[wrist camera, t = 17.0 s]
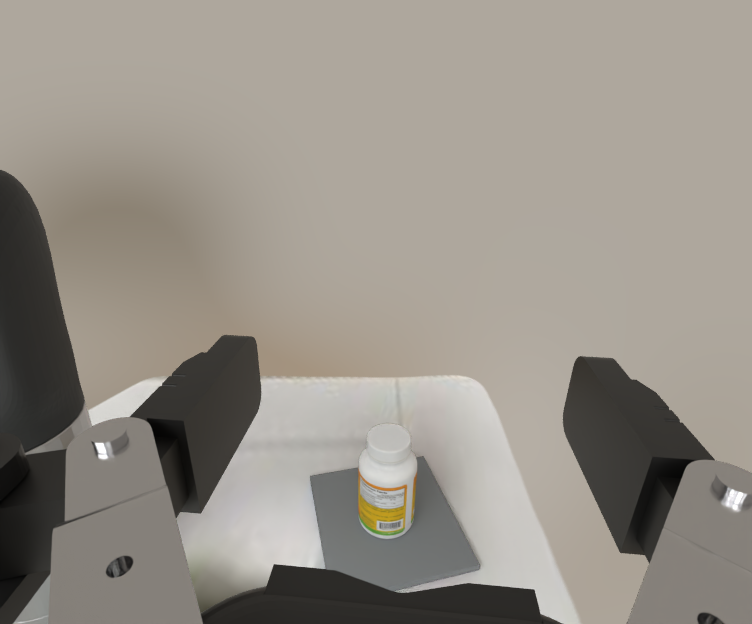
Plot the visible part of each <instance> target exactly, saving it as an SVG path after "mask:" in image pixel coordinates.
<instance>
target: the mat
mask: <svg viewBox="0 0 752 624" xmlns="http://www.w3.org/2000/svg"><path fill="white" fill-rule="evenodd" d="M416 459H417V480H416V493H415V508H414V519H413V523H412V525H411V527H410V529H409V530H408V531H407V532H406V533H405V534H403V535H402V536H399V537H397V538H392V539H383V538H378V537H375V536H373V535H371V534H369V533H368V532H367V531H366V530H365V529H364V528H363V527H362V525H361V523H360V520H359V512H358V468H354V469H348V470H342V471H337V472H331V473H325V474H319V475H314V476H310V481H311V487H312V492H313V498H314V504H315V510H316V515H317V521H318V527H319V533H320V538H321V544H322V550H323V556H324V561H325V567H326V569H327V570H336V571H339V572H342V573H344V574H347V575H350V576H353V577H355V578H358V579H361V580H364V581H366V582H369V583H372V584H375V585H377V586H380V587H383V588H385V589H388V590H391V591H395V590H399V589H403V588H408V587H412V586H416V585H420V584H424V583H428V582H432V581H436V580H440V579H444V578H448V577H452V576H456V575H460V574H464V573H468V572H472V571H476V570H479V567H480V564H479V562H478V560H477V558H476V557H475V555H474V553H473V551H472V549H471V547H470V545H469V543H468V541H467V539H466V537H465V535H464V533H463V531H462V530H461V528H460V526H459V524H458V522H457V520H456V518H455V516H454V514H453V512H452V510H451V508H450V506H449V505H448V503H447V501H446V499H445V497H444V495H443V493H442V491H441V489H440V487H439V485H438V483H437V481H436V480H435V478H434V476H433V474H432V472H431V470H430V468H429V466H428V464H427V462H426V460H425V458H424V456H422V457H417V458H416Z"/></svg>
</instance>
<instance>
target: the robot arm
mask: <svg viewBox="0 0 752 624" xmlns="http://www.w3.org/2000/svg"><path fill="white" fill-rule="evenodd" d="M260 400H261V382H260V373H259V362H258V352H257V344H256V340H255V338H254V337H249V336H234V335H224V336H222V337H221V338H220V339H219V340H218V341H217V342H216V343H215V344H214V345H213V347H211V348H210V350H209V351H208V352H207V353H203V352H202V353H199V354H197V355H196V356H194V357H192V358H190V359H188V360H186V361H185V362H183V363H182V364H181V365H180V366H179V367H178V368H177V369H176V370H175V371H174V372H173V373H172V376H169V377H168V378H167V379H166V380H165V381H164V382H163V383H162V386H160V387H159V388H158V389H157V390H156V391H155V392H154V393H153V394H152V395H151V396H150V397H149V398H148V399H147V400H146V401H145V402H144V403H143V404H142V405H141V406H140V407H139V408H138V409H137V410H136V411H135V412H134V413H133V414H132V415H131V416H130V417H125V418H116V419H112V420H108V421H104V422H101V423H99V424H96V425H94V426H92V424H91V420H90V417H89V413H88V410H87V406H86V403H85V400H84V395H83V392H82V389H81V385H80V382H79V378H78V373H77V368H76V363H75V359H74V354H73V349H72V345H71V341H70V338H69V334H68V331H67V327H66V323H65V319H64V315H63V311H62V306H61V301H60V297H59V292H58V287H57V282H56V277H55V272H54V268H53V262H52V257H51V252H50V249H49V244H48V240H47V236H46V232H45V229H44V226H43V223H42V220H41V217H40V215H39V212H38V209H37V207H36V205H35V204H34V202H33V200H32V198H31V196H30V194H29V193H28V192H27V190H26V189H25V188H24V186H23V185H22V184H21V183H20V182H19V181H18V180H17V179H16V178H15V177H13V176H12V175H10V174H9V173H7V172H5V171H2V170H0V624H562V623H560V622H558V621H556V620H553V619H551V618H549V617H546V616H544V615H541V614H540V610H539V606H538V602H537V598H536V594H535V590H533V589H523V588H512V587H502V586H492V585H481V584H471V583H467V584H460V585H454V586H448V587H441V588H435V589H429V590H423V591H416V592H410V593H397V592H394V591H391V590H388V589H385V588H383V587H380V586H377V585H375V584H372V583H369V582H366V581H364V580H361V579H358V578H355V577H353V576H350V575H347V574H344V573H342V572H339V571H336V570H327V569H317V568H306V567H296V566H286V565H276V564H274V566H273V569H272V572H271V575H270V578H269V581H268V584H267V586H266V587H261V588H256V589H252V590H249V591H245V592H242V593H239V594H237V595H234V596H232V597H229V598H227V599H225V600H223V601H221V602H219V603H217V604H215V605H214V606H212V607H210V608H208V609H207V610H205V611H204V612H202V613H201V614H200V610H199V606H198V602H197V599H196V595H195V591H194V587H193V583H192V579H191V575H190V571H189V568H188V564H187V560H186V556H185V552H184V548H183V544H182V540H181V537H180V533H179V529H178V525H177V521H176V518H177V516H178V514H179V513H180V512H189V513H202V511H203V509H204V507H205V505H206V504H207V502H208V500H209V498H210V496H211V495H212V493H213V491H214V489H215V487H216V486H217V484H218V482H219V480H220V479H221V477H222V475H223V473H224V471H225V470H226V468H227V466H228V464H229V462H230V461H231V459H232V457H233V455H234V453H235V452H236V450H237V448H238V446H239V444H240V443H241V441H242V439H243V437H244V435H245V434H246V432H247V430H248V428H249V426H250V425H251V423H252V421H253V419H254V417H255V416H256V414H257V412H258V409H259V405H260ZM563 426H564V432H565V435H566V437H567V439H568V442H569V444H570V446H571V448H572V450H573V453H574V455H575V457H576V459H577V461H578V463H579V465H580V468H581V470H582V472H583V474H584V476H585V478H586V480H587V483H588V485H589V487H590V489H591V491H592V493H593V495H594V498H595V500H596V502H597V504H598V506H599V508H600V510H601V513H602V515H603V517H604V519H605V521H606V523H607V526H608V528H609V530H610V532H611V534H612V536H613V538H614V541H615V543H616V545H617V547H618V549H619V551H620V553H629V554H640V555H645V556H646V558H647V560H648V562H649V566H648V569H647V571H646V574H645V577H644V579H643V582H642V585H641V587H640V590H639V592H638V595H637V598H636V600H635V603H634V606H633V608H632V611H631V614H630V616H629V619H628V622H627V624H752V473H750V472H748V471H746V470H744V469H742V468H739V467H737V466H734V465H731V464H728V463H724V462H719V461H715V460H714V458H713V457H712V456H711V455H710V454H709V453H708V452H707V450H706V449H705V448H704V447H703V446H702V445H701V443H700V442H699V441H698V440H697V439H696V438H695V437H694V435H693V434H692V433H691V432H690V431H689V430H688V429H687V428H686V426H685V425H684V424H683V423H680V421H679V418H678V417H677V416H676V415H675V414H674V413H673V411H672V410H669V407H668V406H667V405H666V403H665V402H664V401H663V400H662V399H661V398H660V397H659V396H658V394H657V393H656V392H654V391H653V390H651V389H650V388H648V387H646V386H645V385H643V384H642V383H640V382H639V381H637V380H631V379H630V378H629V377H628V375H627V374H626V373H625V372H624V371H623V369H622V368H621V367H620V366H619V364H618V363H617V362H616V361H615V360H614V359H613V358H599V357H582V356H580V357H578V358H577V359H576V361H575V363H574V367H573V371H572V375H571V380H570V384H569V389H568V393H567V398H566V402H565V407H564V412H563Z"/></svg>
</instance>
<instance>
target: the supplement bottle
mask: <svg viewBox="0 0 752 624" xmlns="http://www.w3.org/2000/svg"><path fill="white" fill-rule="evenodd" d="M416 480H417V459H416V456H415V454H414V452H413V451H412V450H411V435H410V433H409V431H408V430H407V429H406V428H404V427H402V426H400V425H397V424H393V423H384V424H379V425H377V426H375V427H373V428H372V429H370V431H369V432H368V434H367V444H366V448H365V449H364V450H363V451H362V453H361V455H360V457H359V465H358V512H359V520H360V523H361V525H362V527H363V528H364V529H365V530H366V531H367V532H368V533H369V534H371V535H373V536H375V537H378V538H383V539H392V538H397V537H399V536H402V535H403V534H405V533H406V532H407V531H408V530H409V529H410V527H411V525H412V523H413V519H414V508H415V493H416Z"/></svg>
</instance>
